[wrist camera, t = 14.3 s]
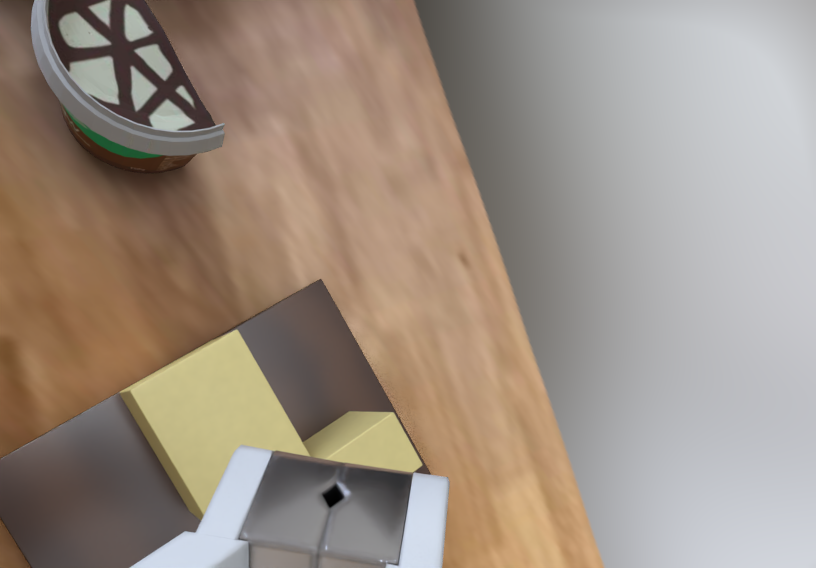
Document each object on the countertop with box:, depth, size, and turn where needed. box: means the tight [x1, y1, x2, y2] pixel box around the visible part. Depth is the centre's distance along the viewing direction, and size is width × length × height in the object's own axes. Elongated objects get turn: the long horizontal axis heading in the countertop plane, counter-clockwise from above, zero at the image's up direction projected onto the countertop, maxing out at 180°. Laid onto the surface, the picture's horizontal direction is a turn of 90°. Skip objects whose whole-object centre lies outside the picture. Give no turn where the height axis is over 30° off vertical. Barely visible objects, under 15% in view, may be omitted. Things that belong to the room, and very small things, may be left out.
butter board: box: [0, 279, 431, 568], centre depth 44 cm, size 22×16×1 cm
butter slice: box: [303, 411, 422, 473], centre depth 43 cm, size 6×4×7 cm, turn 122°
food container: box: [31, 0, 225, 173], centre depth 40 cm, size 12×6×10 cm, turn 33°
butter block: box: [120, 330, 311, 520], centre depth 40 cm, size 6×8×7 cm
